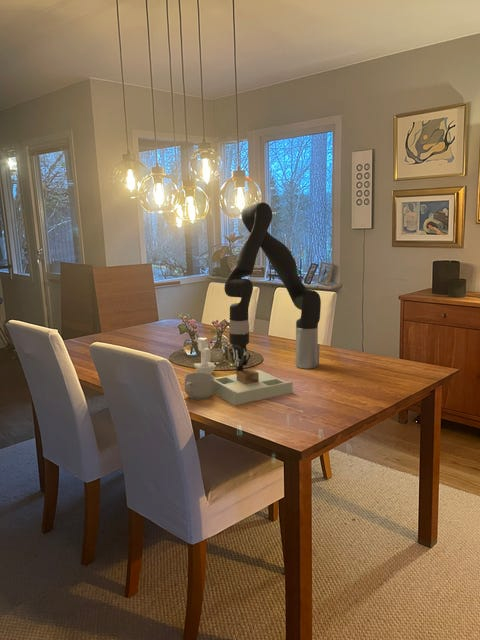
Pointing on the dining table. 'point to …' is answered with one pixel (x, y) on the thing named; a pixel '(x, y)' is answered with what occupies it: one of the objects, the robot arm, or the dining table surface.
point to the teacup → (199, 385)
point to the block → (247, 376)
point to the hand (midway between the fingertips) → (239, 375)
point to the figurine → (204, 357)
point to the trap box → (250, 388)
